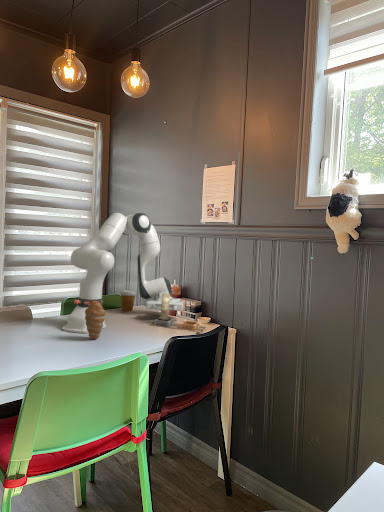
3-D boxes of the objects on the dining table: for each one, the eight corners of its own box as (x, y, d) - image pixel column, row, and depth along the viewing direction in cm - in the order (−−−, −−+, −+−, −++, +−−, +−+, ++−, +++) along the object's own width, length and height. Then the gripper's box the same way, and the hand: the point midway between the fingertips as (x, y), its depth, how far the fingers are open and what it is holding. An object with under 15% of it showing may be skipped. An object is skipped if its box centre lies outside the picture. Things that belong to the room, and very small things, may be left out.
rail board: (199, 334, 189) (199, 327, 188) (147, 327, 197) (147, 320, 197) (205, 329, 200) (206, 322, 200) (156, 322, 208) (156, 315, 208)
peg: (166, 325, 198) (168, 295, 197) (159, 324, 199) (160, 294, 198) (169, 324, 202) (170, 294, 201) (162, 323, 203) (163, 293, 202)
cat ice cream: (83, 342, 166) (85, 301, 165) (83, 336, 173) (85, 297, 172) (104, 341, 168) (106, 301, 167) (103, 336, 176) (105, 297, 175)
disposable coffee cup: (130, 308, 241) (130, 289, 240) (138, 311, 234) (139, 291, 233) (116, 309, 235) (117, 290, 234) (124, 312, 228) (125, 292, 227)
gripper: (146, 297, 213) (145, 301, 200) (182, 298, 215) (184, 303, 201) (145, 308, 214) (144, 313, 200) (182, 309, 216) (183, 315, 202)
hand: (164, 308), depth 201 cm, fingers open, 8 cm apart
